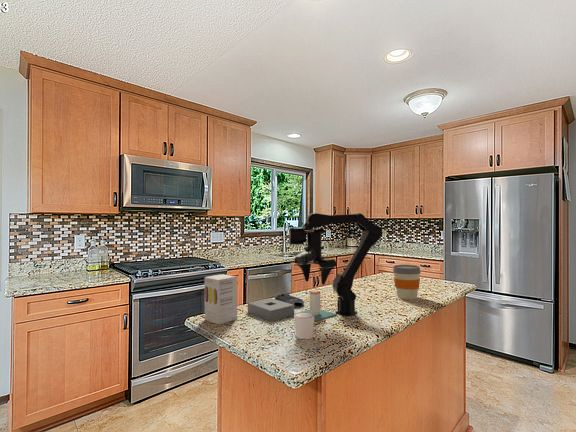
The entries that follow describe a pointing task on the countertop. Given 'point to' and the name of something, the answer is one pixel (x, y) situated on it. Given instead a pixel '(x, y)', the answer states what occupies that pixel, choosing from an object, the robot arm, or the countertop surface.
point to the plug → (315, 302)
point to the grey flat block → (271, 309)
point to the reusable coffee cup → (406, 281)
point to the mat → (321, 315)
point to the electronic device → (289, 299)
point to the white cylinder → (304, 325)
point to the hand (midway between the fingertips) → (314, 282)
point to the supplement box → (220, 298)
